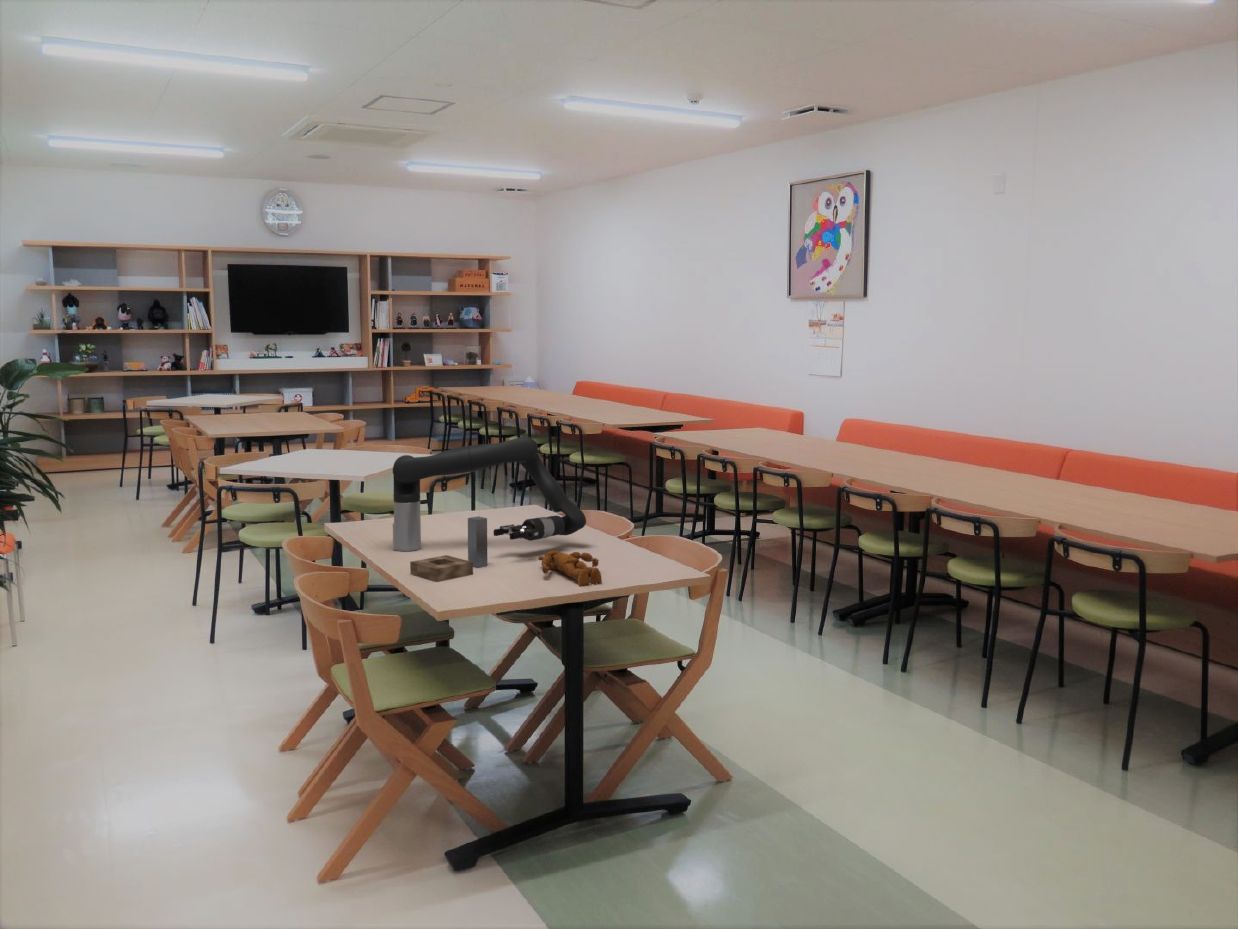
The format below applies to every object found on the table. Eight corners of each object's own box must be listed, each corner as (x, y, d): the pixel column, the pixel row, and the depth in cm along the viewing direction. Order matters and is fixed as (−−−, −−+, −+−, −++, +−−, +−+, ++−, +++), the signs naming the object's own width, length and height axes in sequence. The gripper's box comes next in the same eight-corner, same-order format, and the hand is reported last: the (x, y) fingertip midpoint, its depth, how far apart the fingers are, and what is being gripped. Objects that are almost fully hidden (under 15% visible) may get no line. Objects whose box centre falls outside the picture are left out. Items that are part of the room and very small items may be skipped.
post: (476, 568, 321) (476, 519, 319) (468, 565, 324) (467, 518, 322) (487, 565, 324) (487, 518, 322) (479, 563, 327) (478, 516, 325)
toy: (618, 585, 305) (573, 562, 331) (619, 563, 304) (573, 542, 329) (561, 593, 295) (519, 568, 321) (562, 571, 294) (520, 548, 319)
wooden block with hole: (436, 581, 302) (436, 569, 302) (410, 574, 312) (410, 561, 311) (472, 574, 312) (472, 562, 312) (446, 567, 322) (446, 555, 321)
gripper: (524, 515, 347) (488, 520, 335) (552, 520, 337) (515, 526, 325) (524, 536, 348) (488, 542, 336) (552, 542, 338) (515, 548, 326)
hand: (502, 534), depth 331 cm, fingers open, 8 cm apart
